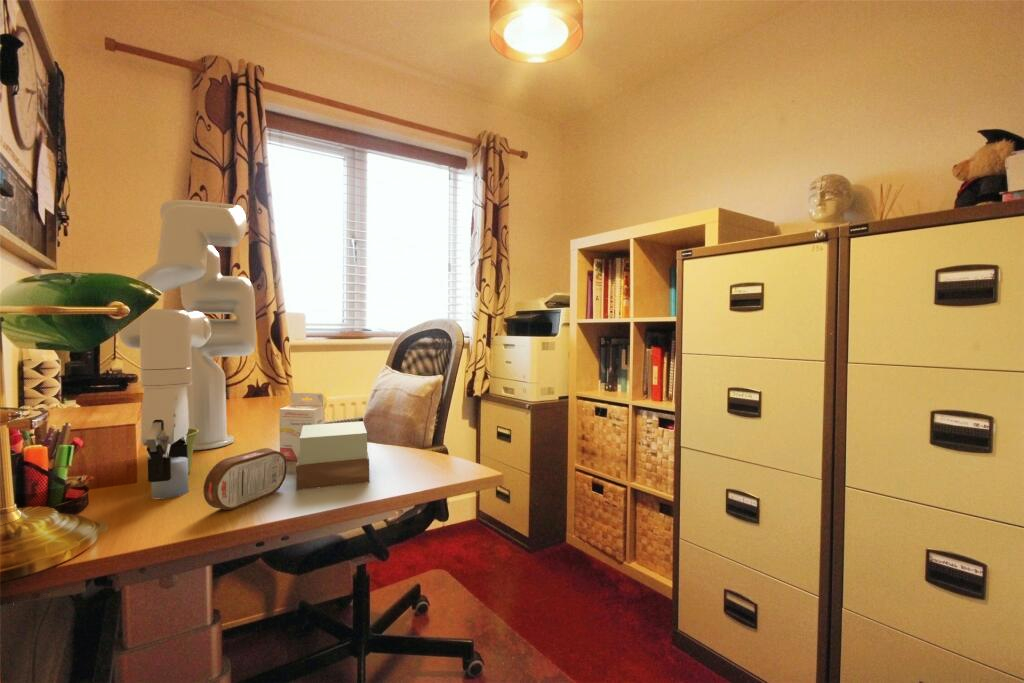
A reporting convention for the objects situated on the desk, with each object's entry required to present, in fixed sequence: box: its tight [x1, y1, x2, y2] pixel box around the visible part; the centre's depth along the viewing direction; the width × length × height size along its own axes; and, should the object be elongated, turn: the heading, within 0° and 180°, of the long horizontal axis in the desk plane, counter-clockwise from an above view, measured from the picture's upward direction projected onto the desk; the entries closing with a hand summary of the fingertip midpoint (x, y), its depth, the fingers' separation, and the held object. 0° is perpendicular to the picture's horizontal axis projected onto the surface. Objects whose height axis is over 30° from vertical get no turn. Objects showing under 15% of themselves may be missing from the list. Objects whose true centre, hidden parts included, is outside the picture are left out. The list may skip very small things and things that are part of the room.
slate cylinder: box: [150, 457, 190, 500], centre depth 88 cm, size 6×6×6 cm
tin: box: [202, 447, 288, 511], centre depth 85 cm, size 15×3×8 cm, turn 159°
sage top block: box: [300, 420, 368, 465], centre depth 99 cm, size 12×12×5 cm
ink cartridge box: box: [279, 392, 325, 462], centre depth 111 cm, size 9×5×15 cm, turn 84°
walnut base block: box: [295, 451, 370, 491], centre depth 99 cm, size 13×13×5 cm
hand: (169, 473), depth 88 cm, fingers open, 9 cm apart
